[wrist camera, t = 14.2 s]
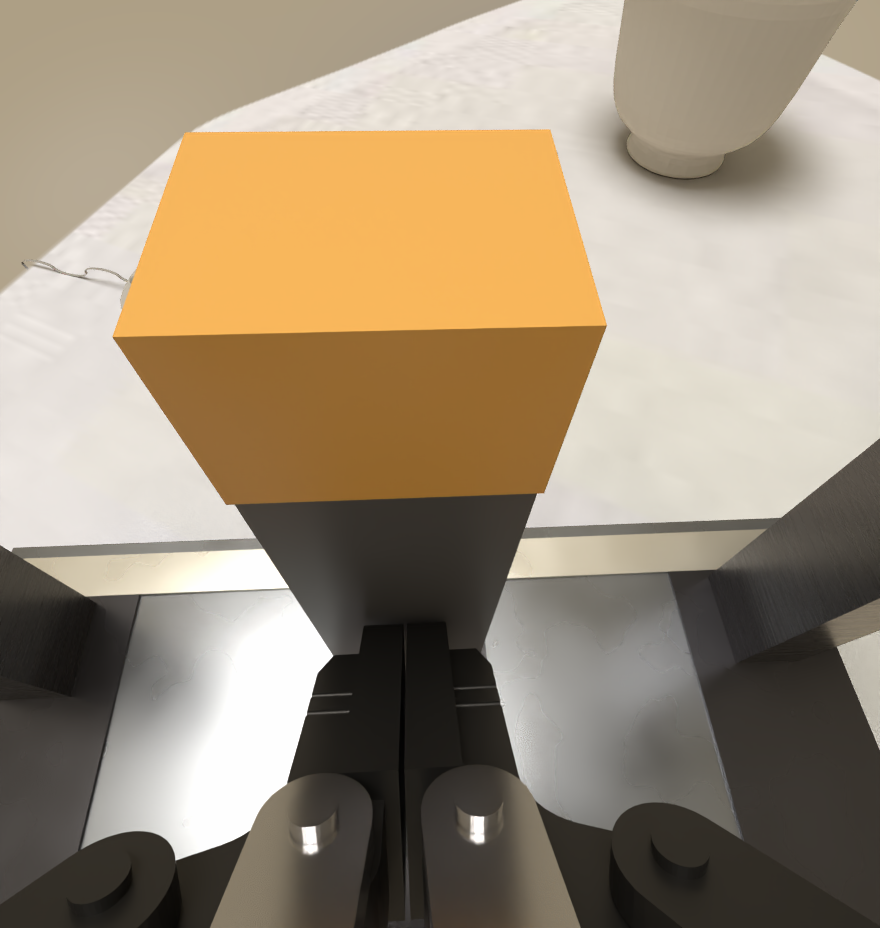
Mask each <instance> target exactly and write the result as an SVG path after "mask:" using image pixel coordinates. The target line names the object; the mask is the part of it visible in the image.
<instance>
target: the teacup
mask: <svg viewBox="0 0 880 928" xmlns="http://www.w3.org/2000/svg"><path fill="white" fill-rule="evenodd" d="M857 1H858V0H625V1H624V7H623V14H622V21H621V27H620V34H619V41H618V47H617V54H616V61H615V72H614V100H615V105H616V108H617V111H618V114H619V116H620V118H621V119H622V121H623V122H624V123H625V125H626V126H627V127H628V128H629V129H630V131H631V133H630V135H629V137H628V139H627V150H628V153H629V154H630V156H631V157H632V158H633V159H634V160H635V161H636V162H637V163H638V164H639V165H641V166H642V167H644V168H646V169H648V170H649V171H652V172H654V173H657V174H660V175H663V176H668V177H673V178H685V179H688V178H699V177H703V176H707V175H709V174H712V173H713V172H715V171H716V170H717V169H719V167H720V166H721V165H722V163H723V161H724V156H725V153H729V152H732V151H735V150H738V149H741V148H743V147H745V146H747V145H749V144H751V143H752V142H754V141H755V140H757V139H758V138H759V137H760V136H761V135H763V134H764V133H765V132H766V131H767V130H768V129H769V128H770V127H771V126H772V125H773V124H774V122H775V121H776V120H777V119H778V118H779V116H780V115H781V114H782V112H783V111H784V109H785V108H786V107H787V105H788V104H789V102H790V101H791V100H792V98H793V97H794V96H795V94H796V93H797V91H798V90H799V88H800V86H801V85H802V83H803V82H804V80H805V79H806V77H807V76H808V74H809V72H810V71H811V69H812V68H813V66H814V65H815V63H816V62H817V60H818V59H819V57H820V55H821V54H822V52H823V51H824V49H825V48H826V46H827V44H828V43H829V41H830V40H831V38H832V36H833V35H834V34H835V32H836V30H837V29H838V28H839V26H840V25H841V23H842V22H843V21H844V19H845V17H846V16H847V15H848V13H849V12H850V11H851V9H852V8H853V6H854V5H855V4H856V2H857Z"/></svg>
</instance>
